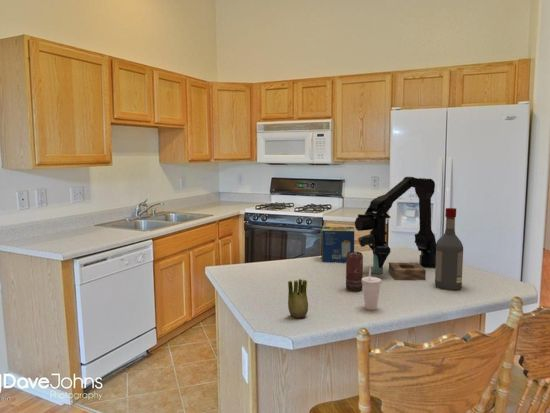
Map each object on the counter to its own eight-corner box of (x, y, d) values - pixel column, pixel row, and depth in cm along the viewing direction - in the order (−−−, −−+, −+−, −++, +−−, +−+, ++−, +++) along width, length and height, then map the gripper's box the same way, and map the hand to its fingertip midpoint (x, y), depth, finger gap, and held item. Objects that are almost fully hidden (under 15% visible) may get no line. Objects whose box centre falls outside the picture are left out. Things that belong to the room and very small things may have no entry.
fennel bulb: (287, 318, 128) (286, 280, 126) (292, 312, 132) (291, 276, 131) (304, 320, 126) (304, 282, 124) (309, 314, 130) (309, 278, 129)
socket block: (416, 271, 177) (417, 262, 176) (425, 280, 165) (425, 270, 164) (388, 271, 177) (388, 262, 177) (395, 279, 165) (395, 270, 165)
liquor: (435, 288, 154) (438, 209, 150) (434, 281, 162) (437, 206, 159) (461, 291, 151) (465, 210, 147) (459, 284, 159) (463, 207, 155)
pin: (381, 271, 177) (381, 253, 177) (383, 274, 174) (383, 255, 173) (372, 271, 178) (372, 253, 177) (373, 274, 174) (374, 255, 173)
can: (361, 286, 157) (361, 251, 156) (363, 292, 151) (363, 255, 149) (345, 286, 158) (345, 250, 156) (346, 291, 152) (346, 254, 150)
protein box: (322, 257, 205) (322, 226, 203) (353, 257, 202) (353, 226, 200) (321, 262, 194) (321, 230, 192) (354, 263, 192) (354, 230, 190)
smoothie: (358, 304, 138) (359, 264, 137) (377, 303, 139) (378, 263, 137) (364, 311, 132) (365, 269, 130) (383, 310, 133) (384, 268, 131)
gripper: (356, 225, 183) (356, 259, 185) (363, 233, 165) (362, 270, 166) (381, 225, 182) (381, 259, 184) (391, 233, 164) (390, 271, 166)
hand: (378, 264), depth 175 cm, fingers open, 9 cm apart
